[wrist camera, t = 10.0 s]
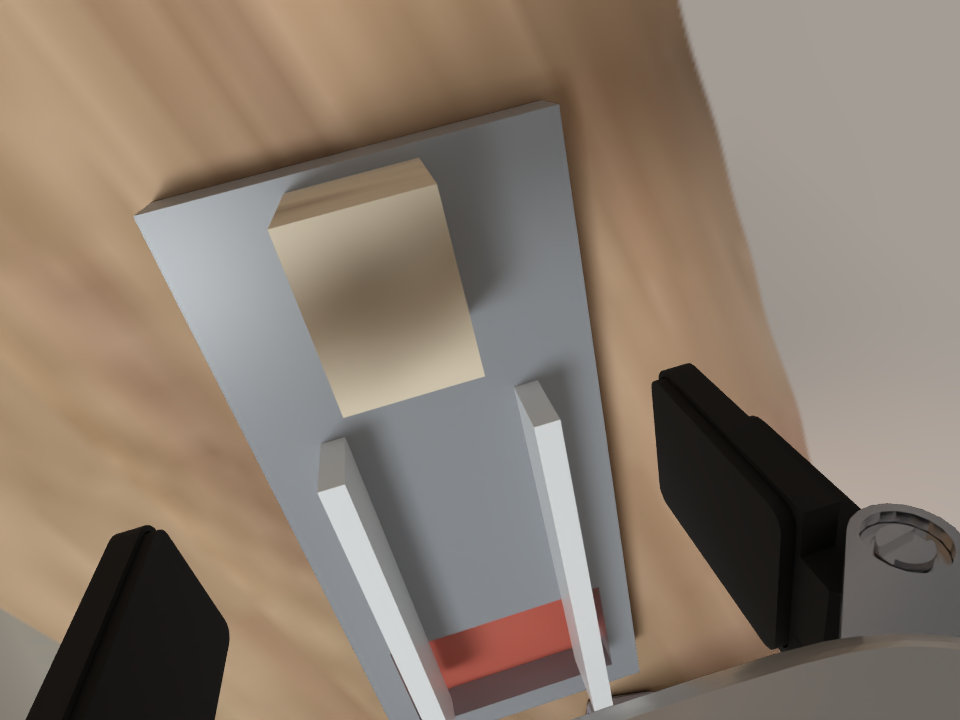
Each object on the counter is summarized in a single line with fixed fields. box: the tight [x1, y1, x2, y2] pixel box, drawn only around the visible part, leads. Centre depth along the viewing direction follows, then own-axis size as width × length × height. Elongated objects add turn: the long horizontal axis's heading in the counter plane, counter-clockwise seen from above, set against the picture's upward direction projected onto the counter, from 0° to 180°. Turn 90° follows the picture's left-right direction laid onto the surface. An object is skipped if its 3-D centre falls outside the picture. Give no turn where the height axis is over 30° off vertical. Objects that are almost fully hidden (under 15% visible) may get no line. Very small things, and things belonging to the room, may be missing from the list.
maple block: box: [267, 157, 485, 418], centre depth 19 cm, size 6×4×4 cm
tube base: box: [133, 100, 639, 720], centre depth 26 cm, size 31×14×5 cm, turn 12°
